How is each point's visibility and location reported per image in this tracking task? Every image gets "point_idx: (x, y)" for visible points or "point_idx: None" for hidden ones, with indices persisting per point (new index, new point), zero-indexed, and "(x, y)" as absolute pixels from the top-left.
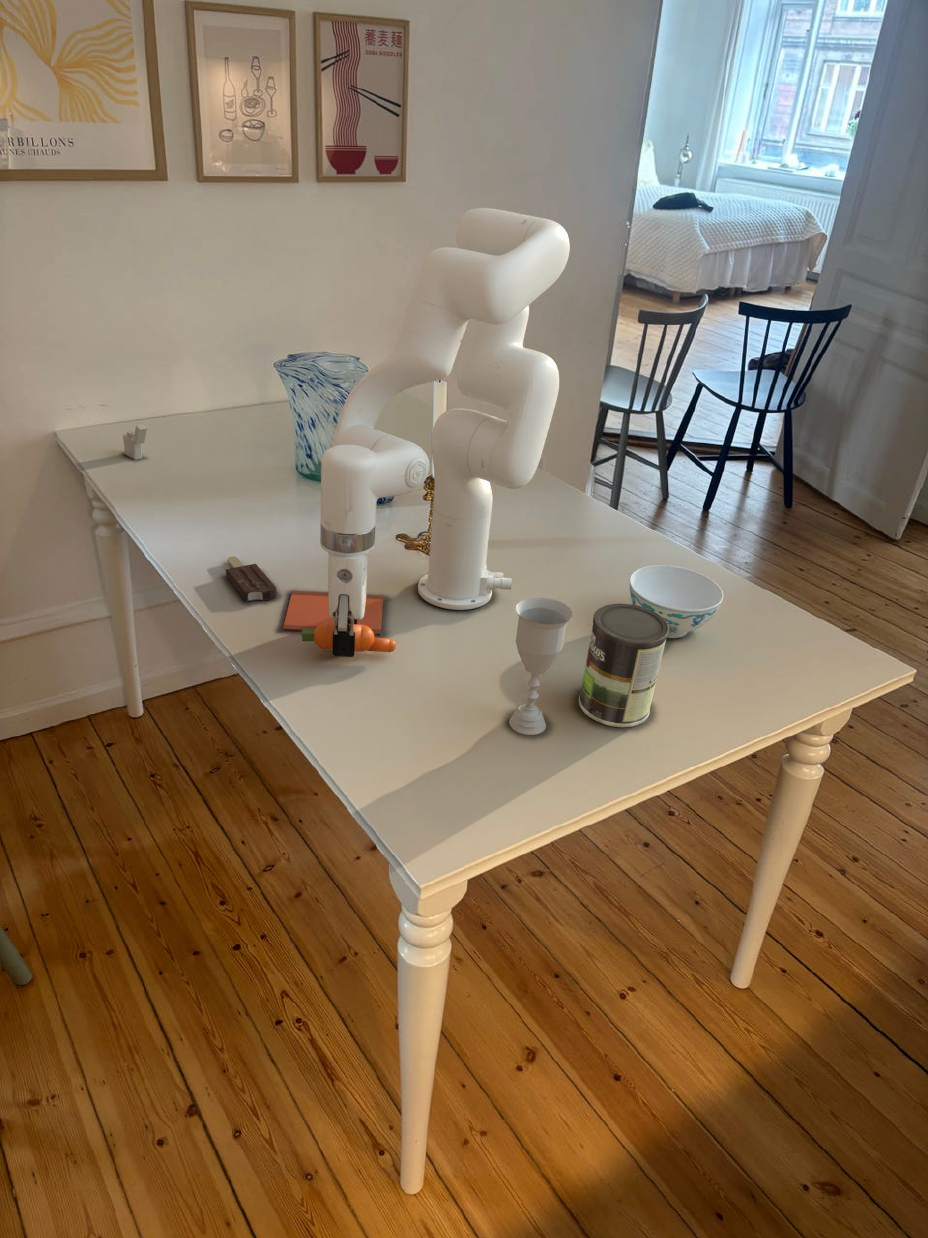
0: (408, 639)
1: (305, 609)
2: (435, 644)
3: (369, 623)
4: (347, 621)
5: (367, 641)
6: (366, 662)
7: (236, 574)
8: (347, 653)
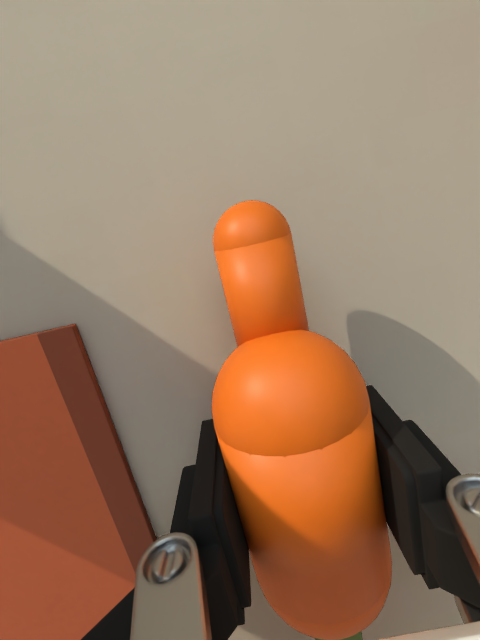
0: (48, 181)
1: (34, 625)
2: (27, 6)
3: (10, 395)
4: (234, 535)
5: (351, 363)
6: (312, 321)
7: None
8: (409, 421)
